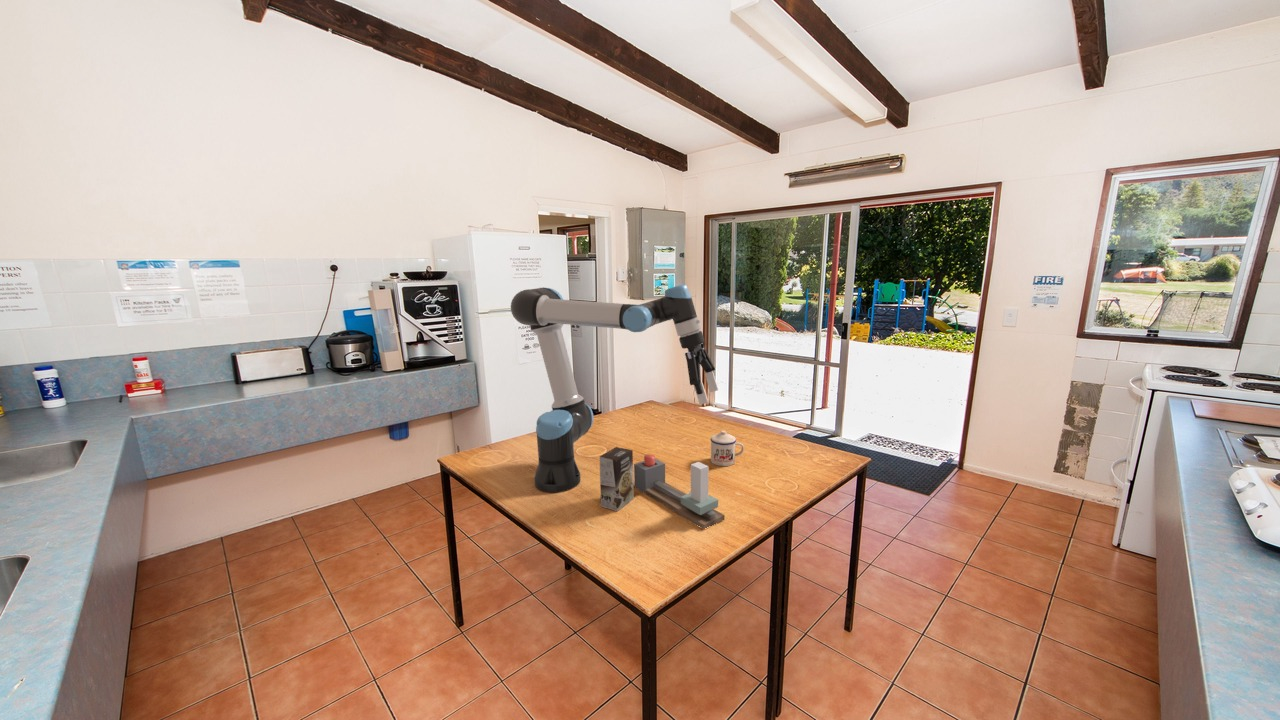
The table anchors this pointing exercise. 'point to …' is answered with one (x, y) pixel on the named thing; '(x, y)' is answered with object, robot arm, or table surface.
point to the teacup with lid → (724, 449)
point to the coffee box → (616, 478)
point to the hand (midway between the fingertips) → (709, 396)
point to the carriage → (699, 491)
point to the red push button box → (648, 475)
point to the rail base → (673, 501)
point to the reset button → (649, 460)
